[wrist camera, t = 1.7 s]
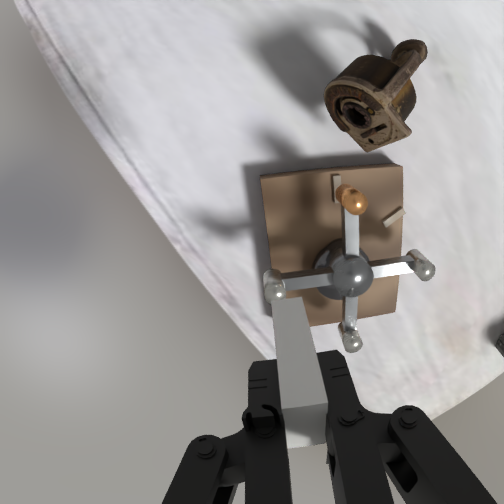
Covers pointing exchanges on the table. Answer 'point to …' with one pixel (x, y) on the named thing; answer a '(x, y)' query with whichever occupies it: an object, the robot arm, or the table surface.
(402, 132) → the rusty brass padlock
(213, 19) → the table surface
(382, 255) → the stand board
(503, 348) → the camera
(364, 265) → the grey star handwheel
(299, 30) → the table surface
